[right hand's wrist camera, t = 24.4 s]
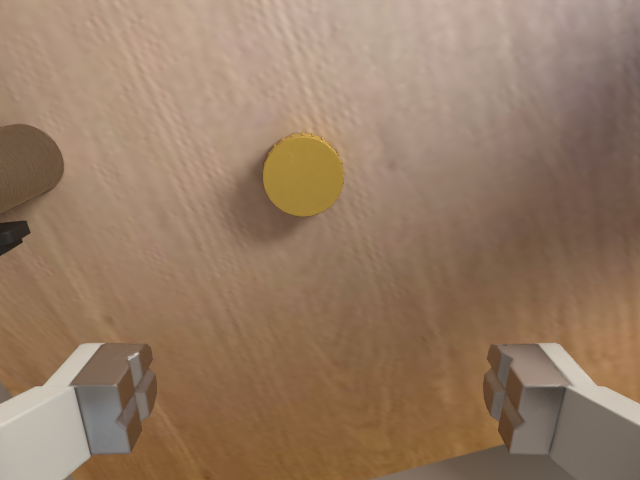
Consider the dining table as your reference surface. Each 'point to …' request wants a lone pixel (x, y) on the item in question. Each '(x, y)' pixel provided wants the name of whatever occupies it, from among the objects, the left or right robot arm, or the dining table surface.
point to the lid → (303, 175)
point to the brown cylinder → (26, 164)
